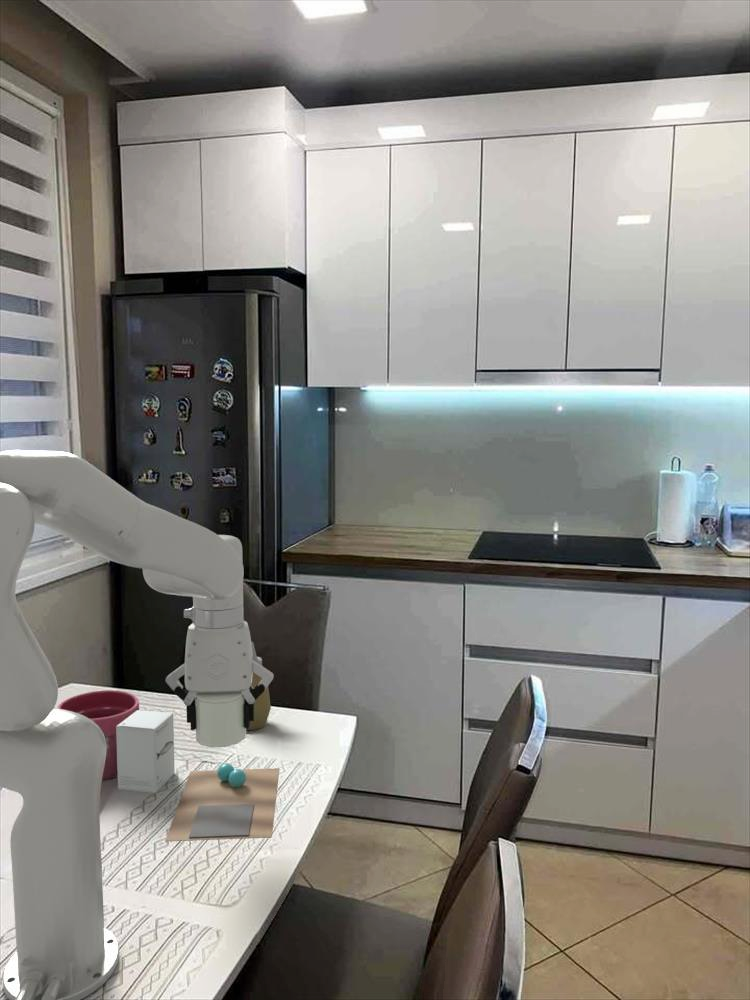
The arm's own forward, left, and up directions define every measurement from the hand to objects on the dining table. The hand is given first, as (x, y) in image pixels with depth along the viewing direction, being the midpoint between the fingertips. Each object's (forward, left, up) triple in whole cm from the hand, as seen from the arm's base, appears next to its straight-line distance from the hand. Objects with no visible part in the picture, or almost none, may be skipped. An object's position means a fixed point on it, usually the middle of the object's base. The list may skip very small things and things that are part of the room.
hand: (221, 725), depth 115 cm
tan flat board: (+6, 0, -17) cm, 18 cm away
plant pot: (+21, +25, -17) cm, 37 cm away
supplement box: (+14, +15, -17) cm, 27 cm away
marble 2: (+11, -1, -14) cm, 18 cm away
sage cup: (0, 0, -2) cm, 2 cm away
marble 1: (+13, +1, -14) cm, 19 cm away
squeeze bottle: (+39, -1, -17) cm, 43 cm away
